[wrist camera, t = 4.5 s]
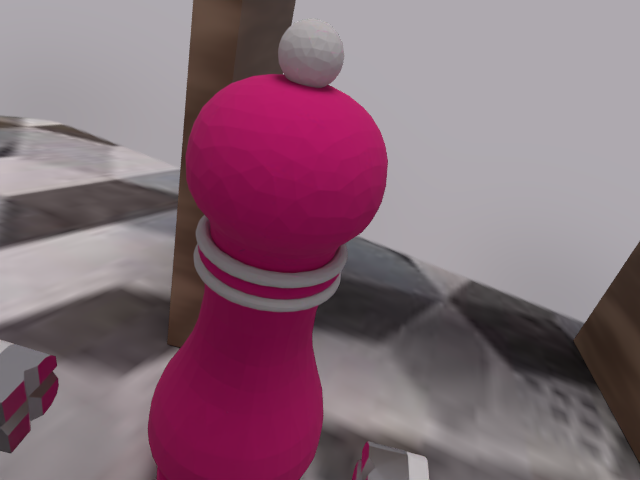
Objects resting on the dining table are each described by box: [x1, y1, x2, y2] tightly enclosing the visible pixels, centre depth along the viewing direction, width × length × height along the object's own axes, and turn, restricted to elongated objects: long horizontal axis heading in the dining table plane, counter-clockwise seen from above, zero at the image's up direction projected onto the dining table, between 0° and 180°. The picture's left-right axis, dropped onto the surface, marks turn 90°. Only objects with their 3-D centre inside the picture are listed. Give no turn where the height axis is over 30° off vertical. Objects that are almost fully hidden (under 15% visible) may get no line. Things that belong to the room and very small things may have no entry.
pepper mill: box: [148, 19, 388, 480], centre depth 17 cm, size 7×7×20 cm
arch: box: [167, 0, 640, 463], centre depth 26 cm, size 32×12×29 cm, turn 82°
